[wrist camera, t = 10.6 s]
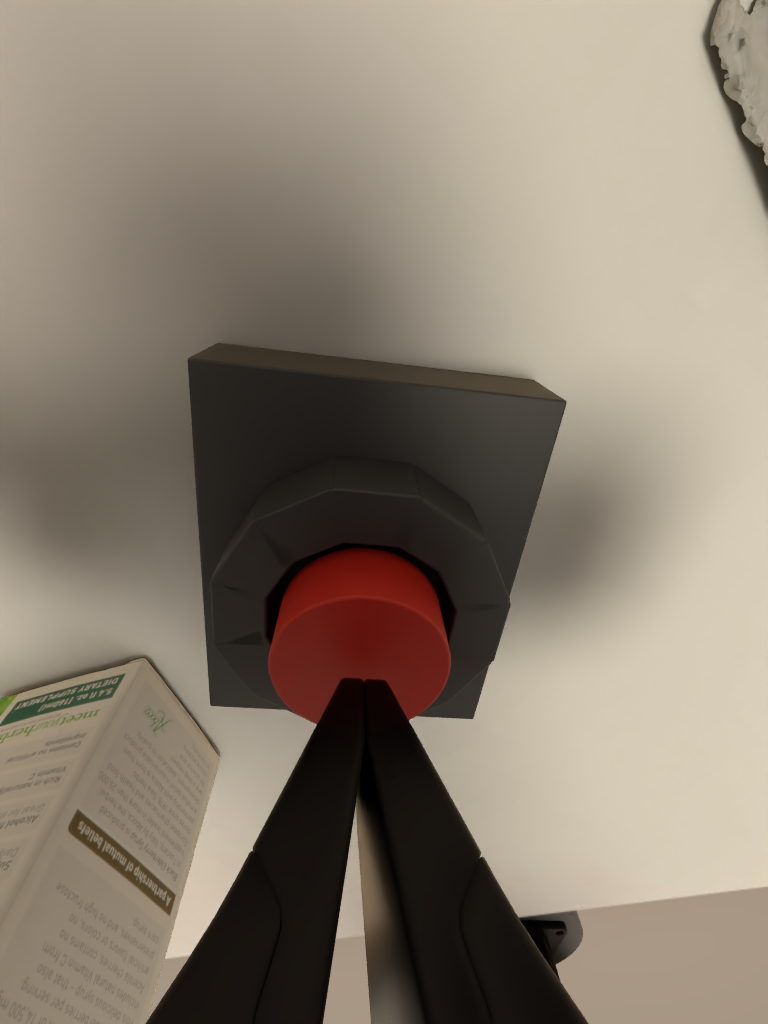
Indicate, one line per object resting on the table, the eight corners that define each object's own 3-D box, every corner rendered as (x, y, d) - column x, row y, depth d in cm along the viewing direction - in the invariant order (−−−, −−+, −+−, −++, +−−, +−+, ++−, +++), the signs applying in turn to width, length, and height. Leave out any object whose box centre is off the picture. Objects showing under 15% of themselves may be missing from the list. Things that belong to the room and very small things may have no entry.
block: (460, 666, 17) (486, 774, 13) (228, 653, 16) (190, 763, 12) (535, 380, 12) (606, 425, 9) (217, 342, 11) (150, 375, 8)
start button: (425, 675, 12) (435, 736, 10) (279, 666, 12) (266, 728, 10) (452, 553, 10) (468, 604, 9) (283, 539, 10) (268, 590, 8)
